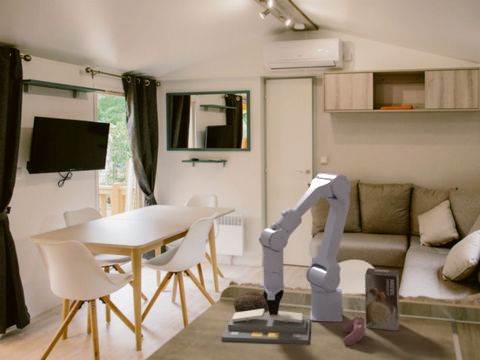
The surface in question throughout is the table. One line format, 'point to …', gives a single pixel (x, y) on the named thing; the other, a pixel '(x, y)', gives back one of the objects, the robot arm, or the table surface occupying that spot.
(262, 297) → the bread roll
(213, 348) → the table surface
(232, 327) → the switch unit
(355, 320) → the pink curved piece
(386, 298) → the coffee box
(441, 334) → the table surface
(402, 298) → the table surface
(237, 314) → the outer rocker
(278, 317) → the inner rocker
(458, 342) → the table surface
